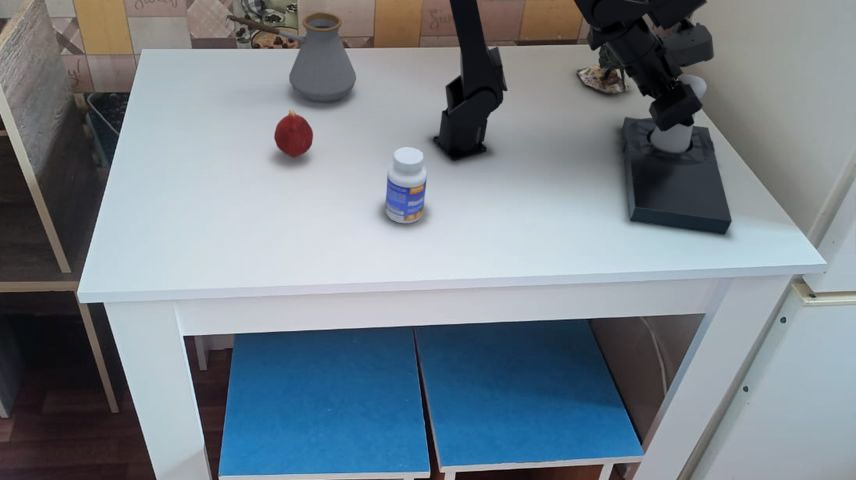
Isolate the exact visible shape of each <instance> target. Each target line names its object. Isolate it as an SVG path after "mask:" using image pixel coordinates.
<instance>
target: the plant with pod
mask: <svg viewBox="0 0 856 480" xmlns="http://www.w3.org/2000/svg"><path fill="white" fill-rule="evenodd" d="M598 57H599V58H598V64H599V65H597V64H595V65H592V66H589V67H584V68H581V69H579V68H578V69H577V70H576V73H577V75H578V77H579V78H580V79H581V80H582V82H583V84H584V85H587V86H590V87H591V88H594V89H596V90H599V91H601V92H603V93H604V94H607V95H608V94H609V95H610V94H611V95H612V94H613V95H615V94H616V93H617V94H619V93H623V92H627V91H628V89H629V85H628V83H626V73H625V70H624V68H623V66H622V65H621V63H620V62H619V60H618V59H617V58H616V56H615V55H614V54H613V52H612V51H611V50H610V48H609V47H608V46H607V44H606V43H605V44H603V45H602V46H600V47H599V51H598ZM617 70H619V73H620V75H619V74H618V71H617Z"/></svg>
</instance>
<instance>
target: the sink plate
mask: <svg viewBox="0 0 856 480" xmlns="http://www.w3.org/2000/svg"><path fill="white" fill-rule="evenodd" d="M656 127H657V125H656V124H655V122H654V120H653V118H652V117H645V118H635V117H628V116H626V117H624V120H623V123H622V126H621V128H620V129H621V130H620V131H621V132H620V133H621V152H622V154H623V162H624V163H623V164H624V171H625V180H626V192H627V201H628V212H629V220H630V222H635V223H642V224H643V223H644V224H650V225H658V226H664V227H672V228H677V229H685V230H692V231H698V232H706V233H713V234H718V235H719V234H721V235H726V234H727V232H728V230H729V228H730V226H731V224H732V222H733V220H732V216H731V211H730V208H729V204H728V200H727V196H726V193H725V189H724V184H723V180H722V177H721V176H722V175H721V173H720V169H719V165H718V159H717V156H716V153H715V152H716V148H715V145H714V142H713V140H712V137H711V132H710V130H709V127H706V126H699V125H693V128H692V134H691V139H690V144H689V147H688V148H687V150H686V151H685V152H684V153H680V154H674V153H667V152H664V151H661V150H658V149H657V148H655V147H654V146H652V145H651V141H650V137H651V135H652V133H653V132H654V130H655V128H656Z"/></svg>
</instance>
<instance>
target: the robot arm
mask: <svg viewBox="0 0 856 480" xmlns="http://www.w3.org/2000/svg"><path fill="white" fill-rule="evenodd" d="M448 2H449V5H450V10H451V13H452V19H453V23H454V27H455V32H456V37H457V41H458V44H459V45H458V46H459V48H460V53H459V55H460V57H459V59H460V61H459V63H460V64H459V65H460V74H459V75H457V76H456V77H455V78H454V79H453V80H451V81H450V82H449V83H448V84H446V85H445V87H444V88H445V96H446V97H445V98H446V105H447V107H446V109H443V110H442V111H441V116H440V124H439V125H440V126H439V132H438V135H435V136H432V141H433V143H435V144H436V146H438V148H440V150H441V151H442V152H443V153H444V155H446V156H447V157H448V158H449V159H450V160H451V161H458V160H461V159H465V158H469V157H472V156H477V155H480V154H484V153H486V152H488V147H487V146H486V145H485V144H484V142H485V137H486V132H487V125H488V119H489V117H490V115H491V114H492V113H493V112H494V111H496V110H498V109H499V107H500V106H501V105H502V104H503V101H504V92H508V86H507V81H506V77H505V72H504V65H503V61H502V59H501V58H502V57H501V52H500V49H499V46H495V47H493V48H489V46H488V43H487V42H486V40H485V35H484V30H483V24H482V20H481V15H480V9H479V5H478V0H448ZM573 2H574V4H575V5H576V7H577V9H578V10H579V11H580V14H581V15H582V17H583V19H584V20H585V21H586V23H587V25H589V31H588V33H587V35H586V41H587V44H588V46H589V48H590V50H591V51H593V52H594V51H596V50H598V49H600V47H601V46H602V45H603V44H605V43H606V44H607V46H608V47H609V48H610V50H611V51H612V52H613V54H614V55H615V56H616V58H617V59H618V60H619V62H620V63H621V65H622V66H623V68H624V73H625V75H626V76H627V77H628V78H629V79H632V80H633V82H634V83H635V84H636V86H637V89H638V91H639V93H640V94H641V95H642V97H643V98H644V97H646V96H648V97H649V98H652V99H654V100H653V101H651V103H650V105H649V109H648V112H649V115H650V116H651V118H653V120H654V122H655V124H656V125H657V127H658V128H659V129H660V131H667V130H669V129H670V128H672V127H674V126H675V125H677V124H681V125H683V126H687V127H689V126H691V125H693V126H694V124H695V118H694V119H693V116H692V115H693V114H695V115H696V114H697V113H698V112H699V111H701V110H702V108H703V106H704V104H703V103H702V101H701V98H700V99H699V98H698V96H697V94H696V93H695V91H694V90H693V88H692V87H691V85H690V84H684V83H683V82H682V81H681V80H678V79H679V77H681V76H682V75H683V74H684V71H683V69H682V68H687V67H689V66H690V67H691V66H692V65H696V64H699V63H702V62H708V61H711V60H712V59H713V58H714V57H715V51H714V42H713V35H712V33H711V32H710V31H709V29H708V28H707V27H706V26H705V25H704V24H701V23H700V22H696V23H695V24H694V23H693V22H692V20H691V19H689V18H688V17H689V16H690V15H692V14H693V13H695V11H697V10H698V9H700V8H701V7H703V6H704V5H706V4H707V3H708V1H707V0H573ZM645 15H647V16H648V18H649V20H651V23H652V24H653V25H654V26H655V28H656V29H658V28H660V27H661V28H662V29H663V31H666V30H670V29H671V28H672V30H671V31H670V32H669V36H666V37H665V38H664V37H663V36H661V35H660V34H659V33H655V31H653V30H652V28H651V27H650V25H649V24H648V22H647V21H646V20H645V18H644V16H645ZM677 80H678V81H677Z"/></svg>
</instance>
